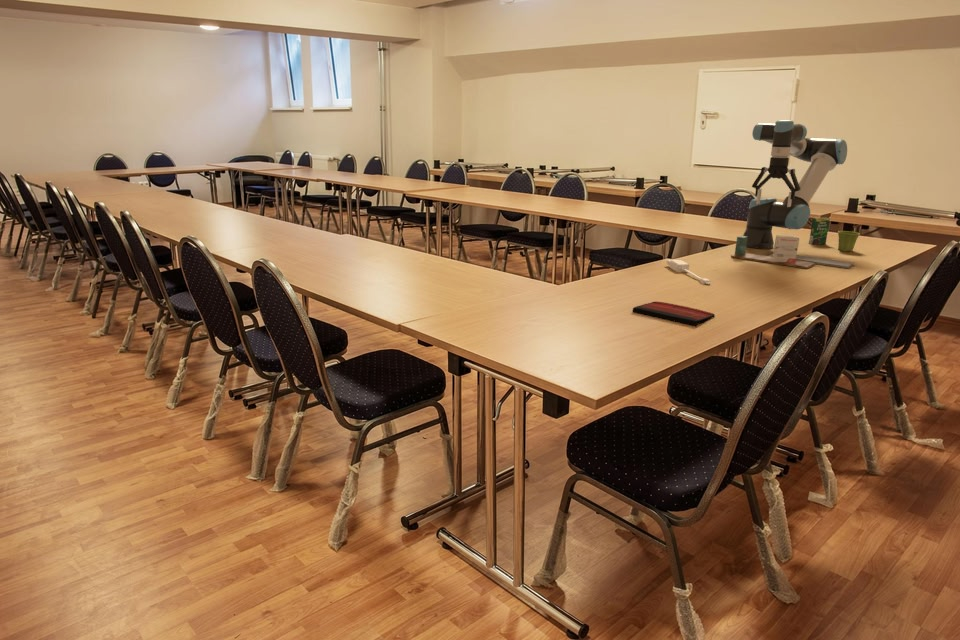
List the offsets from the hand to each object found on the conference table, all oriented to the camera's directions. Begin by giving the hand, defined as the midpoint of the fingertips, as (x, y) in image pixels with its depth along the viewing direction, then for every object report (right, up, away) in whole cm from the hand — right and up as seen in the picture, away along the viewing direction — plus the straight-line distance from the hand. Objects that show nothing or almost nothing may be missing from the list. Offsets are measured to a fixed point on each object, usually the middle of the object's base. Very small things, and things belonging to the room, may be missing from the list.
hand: (773, 205), depth 298 cm
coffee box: (+38, -13, +36) cm, 54 cm away
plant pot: (+44, -18, +20) cm, 51 cm away
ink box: (-1, -27, -12) cm, 30 cm away
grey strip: (+14, -26, -6) cm, 30 cm away
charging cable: (-50, -34, -37) cm, 71 cm away
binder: (-71, -51, -90) cm, 126 cm away
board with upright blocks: (-5, -26, -9) cm, 28 cm away
